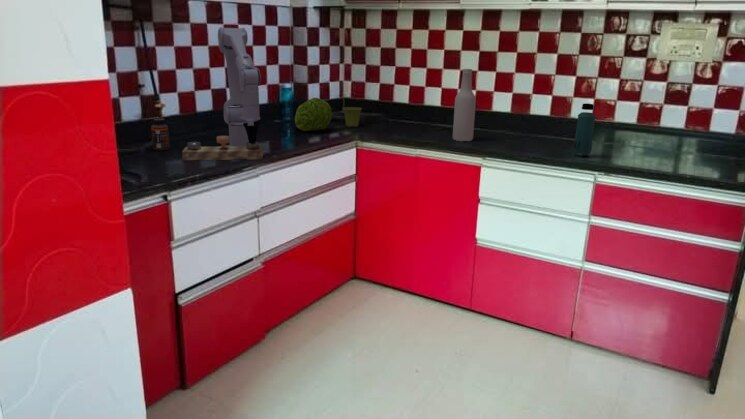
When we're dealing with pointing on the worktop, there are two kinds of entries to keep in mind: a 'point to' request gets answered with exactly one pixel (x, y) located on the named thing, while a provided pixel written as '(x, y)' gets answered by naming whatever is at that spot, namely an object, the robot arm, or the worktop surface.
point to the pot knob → (223, 140)
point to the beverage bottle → (584, 130)
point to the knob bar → (222, 153)
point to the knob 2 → (252, 145)
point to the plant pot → (352, 116)
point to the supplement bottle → (160, 135)
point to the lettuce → (313, 115)
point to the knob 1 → (194, 145)
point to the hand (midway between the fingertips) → (252, 143)
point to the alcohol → (464, 109)
